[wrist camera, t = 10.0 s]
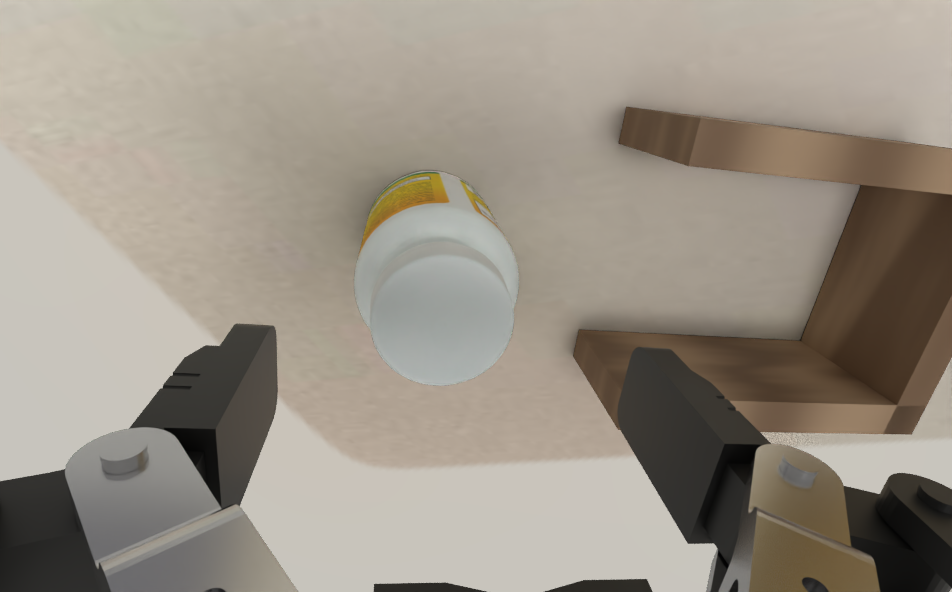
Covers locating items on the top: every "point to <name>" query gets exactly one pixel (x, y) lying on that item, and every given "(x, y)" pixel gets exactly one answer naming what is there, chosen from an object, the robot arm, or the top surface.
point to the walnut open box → (843, 291)
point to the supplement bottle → (436, 280)
